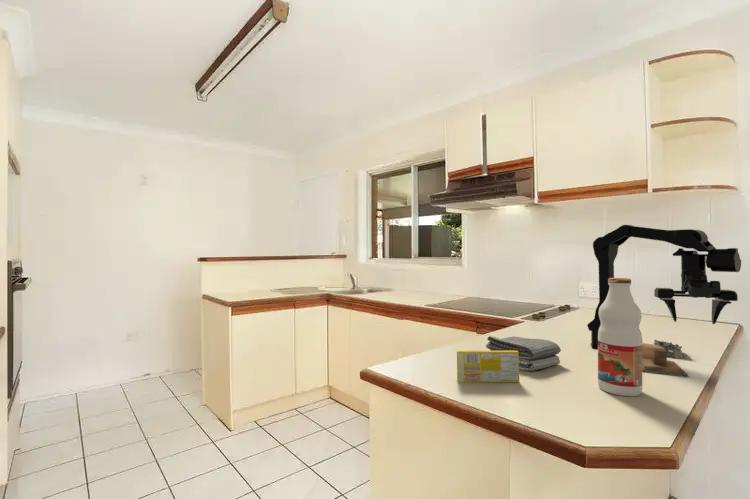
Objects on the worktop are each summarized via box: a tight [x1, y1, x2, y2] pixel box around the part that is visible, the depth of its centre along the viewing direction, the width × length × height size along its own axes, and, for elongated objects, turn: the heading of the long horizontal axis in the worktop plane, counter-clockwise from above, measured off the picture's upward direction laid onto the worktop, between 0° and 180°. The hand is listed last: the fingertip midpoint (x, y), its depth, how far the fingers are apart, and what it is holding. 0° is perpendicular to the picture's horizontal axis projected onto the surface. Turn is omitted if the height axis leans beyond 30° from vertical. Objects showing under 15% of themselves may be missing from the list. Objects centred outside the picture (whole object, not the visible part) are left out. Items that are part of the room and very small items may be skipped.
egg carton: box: [653, 339, 683, 359], centre depth 131 cm, size 11×8×4 cm
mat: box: [642, 367, 689, 377], centre depth 114 cm, size 11×10×1 cm
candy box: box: [456, 350, 520, 384], centre depth 103 cm, size 16×2×8 cm, turn 89°
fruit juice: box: [597, 277, 643, 397], centre depth 97 cm, size 9×9×28 cm
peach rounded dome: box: [642, 342, 663, 359], centre depth 125 cm, size 8×8×4 cm
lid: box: [642, 348, 684, 373], centre depth 114 cm, size 9×9×5 cm
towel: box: [485, 335, 562, 372], centre depth 121 cm, size 15×18×8 cm
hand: (694, 322), depth 116 cm, fingers open, 9 cm apart
